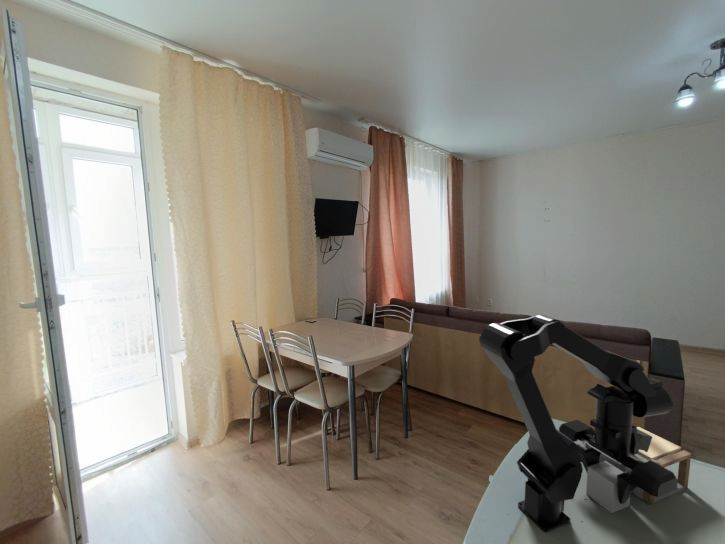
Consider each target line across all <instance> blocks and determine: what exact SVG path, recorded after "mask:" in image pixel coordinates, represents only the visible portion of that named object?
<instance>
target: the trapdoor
mask: <svg viewBox="0 0 725 544" xmlns="http://www.w3.org/2000/svg"><path fill="white" fill-rule="evenodd" d="M636 427H637V429H638V430H640V431H642V432H644V433H646V434H648V435H650V436H652V440H651V443H650V446H649V449H648V452H645V451H644V450H639V453H638V454H637V455H638V456H640V457H641V458H643V459H644V460H647V462H648V461H650V460H651V461H652V460H655V461H656V460H658V459H661V458H664V457H666V456H669V455H672V454H675V453H677V452H680V451H682V446H680V445H677V444H675V443H673V442H672V441H669V440H667V439H665V438H663V437H660V436H659V435H656V434H654V433H652V432H650V431H648V430H646V429H644V428H642V427H640V426H636ZM630 457H631V458H633V459H635V460H639V459H637V458H635V457H633V456H632V455H630ZM603 461H607V462H608V463H610V464H611V465H613V466H615V467H616V468H618V469H619V470H621V471H623V472H624V473H625V471H626V467H625V466H624V465H622V464H619V463H617V462H615V461H614V460H612V459H610V458H609V457H607V456H606V455H604V454H602V453H601V455H600V458H599V463H600V462H603ZM639 461H640V460H639Z"/></svg>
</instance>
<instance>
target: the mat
mask: <svg viewBox="0 0 725 544" xmlns="http://www.w3.org/2000/svg"><path fill="white" fill-rule="evenodd" d="M633 457H635V458H637V459H639V460H640V461H642V462H644V463H645V462H647V461H646V460H645V459H644V460H643V459H642V458H640V457H638V456H637V455H636V454H635V455H634V456H633ZM683 490H686V489H685V487H684V486H682V485H680V484H679V483H677V489H675V490H673V491H671V492H668V493H666V494H664V495H661V496H659V497H656V496H654V500H652V501H654V502H653V503H656V502H659V501H660V500H663V499H666V498H667V497H669V496H671V495H674V494H676V493H680V492H681V491H683ZM632 494H634V495H635V496H636V497H638V498H639V499H641V500H642V501H644V502H646V501H647V502H649V501H648V500H646V499H645V498H643V490H642V489H641V488H639V487H637V488H635V489H634V491H633V492H632ZM643 499H644V500H643ZM647 502H646V503H647ZM650 502H651V501H650ZM650 502H649V503H648V504H649V505H651V504H650ZM653 503H652V504H653Z"/></svg>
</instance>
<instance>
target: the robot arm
mask: <svg viewBox="0 0 725 544" xmlns="http://www.w3.org/2000/svg"><path fill="white" fill-rule="evenodd" d="M478 338H479V344H480V347H481V349H482V350H483V351H484V352H485V354H486V356H487V357H488V358H489V360H490V361H491V362H492V363H493V364H494V365H495V367H496V368H497V369H498V370H499V371H500V372H501V374H502V375H503V377H504V379H505V381H506V384H507V386H508V388H509V390H510V393H511V395H512V397H513V400H514V403H515V405H516V406H517V410H519V412H520V416H521V419H522V421H523V422H524V425H525V427H526V429H527V431H528V434H529V437H528V439H527V442H526V443H527V444H526V445H527V448H528V449H527V450H526V451H525V452H524V453H523V454H522V456H521V457H520V458H519V459H518V460H517V462H516V464H517V467H518V470H519V471H520V472H521V473H522V474H523V476H525V477H526V478H527V480H526V481H525V482H524V484H525V485H524V500H521V501H519V502H517V507H518V508H519V509H520V510H521V511H522V512H523V513H524V514H525V515H526V516H527V517H528V518H529V519H530V520H531V521H532V522H533V523H535V525H536V526H537V527H539V528H540V530H542V531H543V532H545V533H548V532H551V531H553V530H555V529H557V528H560V527H562V526H565V525H567V524H570V523H571V518H570V517H569V515H567V514H566V513H565V512H564V511H565V501H570V500H573V499H574V497H575V495H576V492H577V489H578V488H579V487H578V486H579V484H580V481H581V479H582V473H583V470H585V472H586V475H587V474H588V467H589V466H591V465H594V464H597V463H599V458H600V455H601V453H602V454H604V455H606V456H607V457H609V458H610V459H612V460H614V461H615V462H617V463H619V464H622V465H624V466H625V467H626V471H625V473H622V474H619V475H617V483H618V498H619V503H621V504H623V503H625V502H626V501H627V499H628V498H629V496H630V497H631V495H632V494H633V493H632V492H633V491H634V489H635V488H637V487H639V488H641V489H642V490H644V491H645V492H647V493H649V494H650V495H652V496H656V497H659V496H661V495H664V494H666V493H668V492H671V491H673V490H675V489H677V482H678V480H677V479H678V477H677V475H675V473H674V472H673V471H671V470H669V469H667V468H666V467H662V466H660V465H658V464H657V463H655V462H653V461H651V460H650V461H648V460H647V461H646V462H645V463H644V462H642V461H639V460H635V459H633V458H631V457H630V454H631V453H632V454H634V455H635V456H636V455H638V453H639V450H644V451H645V452H648V449H649V446H650V443H651V440H652V436H650V435H648V434H646V433H644V432H642V431H640V430H638V429H637V427H638V426H635V425H633V419H634V417H636V418H646V417H653V416H660V415H667V414H668V413H670V412H671V411H672V410H673V407H674V402H673V401H672V398H671V396H670V395H669V393H668V391H667V390H666V389H665V388H663V381H661V380H658V379H656V378H653V377H649V378H648V377H647V375H646V374H645V372H644V370H645V369H644V366H643V365H642V364H641V363H640V362H638V361H636V360H633V359H630V358H628V357H624V356H622V355H619V354H617V353H614V352H611V351H608V350H605V349H603V348H602V347H600V346H599V345H597V344H596V343H594V342H592V341H591V340H589V339H587V338H586V337H584V336H583V335H581V334H580V333H578V332H576V331H574V330H572V329H571V328H569V327H568V326H566V325H564V323H563V322H561V320H559V319H556V318H553V317H549V316H547V315H543V314H537V315H533V316H530V317H527V318H519V319H512V320H506V321H503V322H500V323H499V322H493V323H489V324H488V325H487V326H485V327H484V328H483V330H482V331H481V334H480V336H479V337H478ZM551 345H553V346H555V347H556V348H558V349H559V350H561V351H563V352H564V353H566V354H568V355H569V356H572V357H573V358H574V359H577V361H578V360H579V361H580V362H581V363H582V364H583V365H584V367H585V369H586V370H588V371H589V373H590V374H592V376H594V377H595V378H597V379H599V380H601V381H603V382H606V383H608V384H609V385H608V386H604V385H602V384H599V383H597V384H596V385H595V386H593V387H591V388H589V389H588V391H587V392H586V394H587V395H589V396H590V397H592V398H594V399H595V400H596V401H595V414H594V415H595V417H594V418H592V419H590V420H589V425H588V424H586V423H584V422H582V421H580V420H578V419H576V420H570V421H567V422H563V423H561V424H560V425H559V427H558V429H557V428H556V426H555V424H554V421H553V418H552V416H551V414H550V411H549V408H548V406H547V403H546V401H545V399H544V396H543V395H542V392H541V390H540V387H539V385H538V383H537V380H536V378H535V376H534V373H533V369H534V365H535V361H536V357H537V356H540V355H543V354H544V353H545V351H546V350H547V349H548V348H549V346H551ZM583 467H584V469H583Z"/></svg>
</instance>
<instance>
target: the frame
mask: <svg viewBox="0 0 725 544" xmlns="http://www.w3.org/2000/svg"><path fill="white" fill-rule="evenodd" d="M630 455H632V456H634V454H632V453H631V454H630ZM691 459H692V453H691V452H689V451H687V450H685V449H683V450H681V451H679V452H677V453H674V454H671V455H668V456H666V457H663V458H660V459H657V460H652V461H653V462H655V463H657V464H658V465H660V466H662V467H664V468H666V467H670V466H671V465H675V464H677V463H678V470H677V471H678V472H677V480H678V482H677V483H679V484H680V485H682V486H684V487H685V489H684V490H686V489H688V487H689V478H690V470H691V469H690V468H691V461H692V460H691ZM643 498H645V499H646V500H648V501H649V502H650V501H651V502H650V504H649V502H647V501H645V503H646V504H649V505H652V504H653V502H654V501H652V500H654V496H652V495H650V494H649V493H647V492H645V491H644V490H643ZM642 501H644V499H643V500H642ZM654 503H655V502H654Z"/></svg>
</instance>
